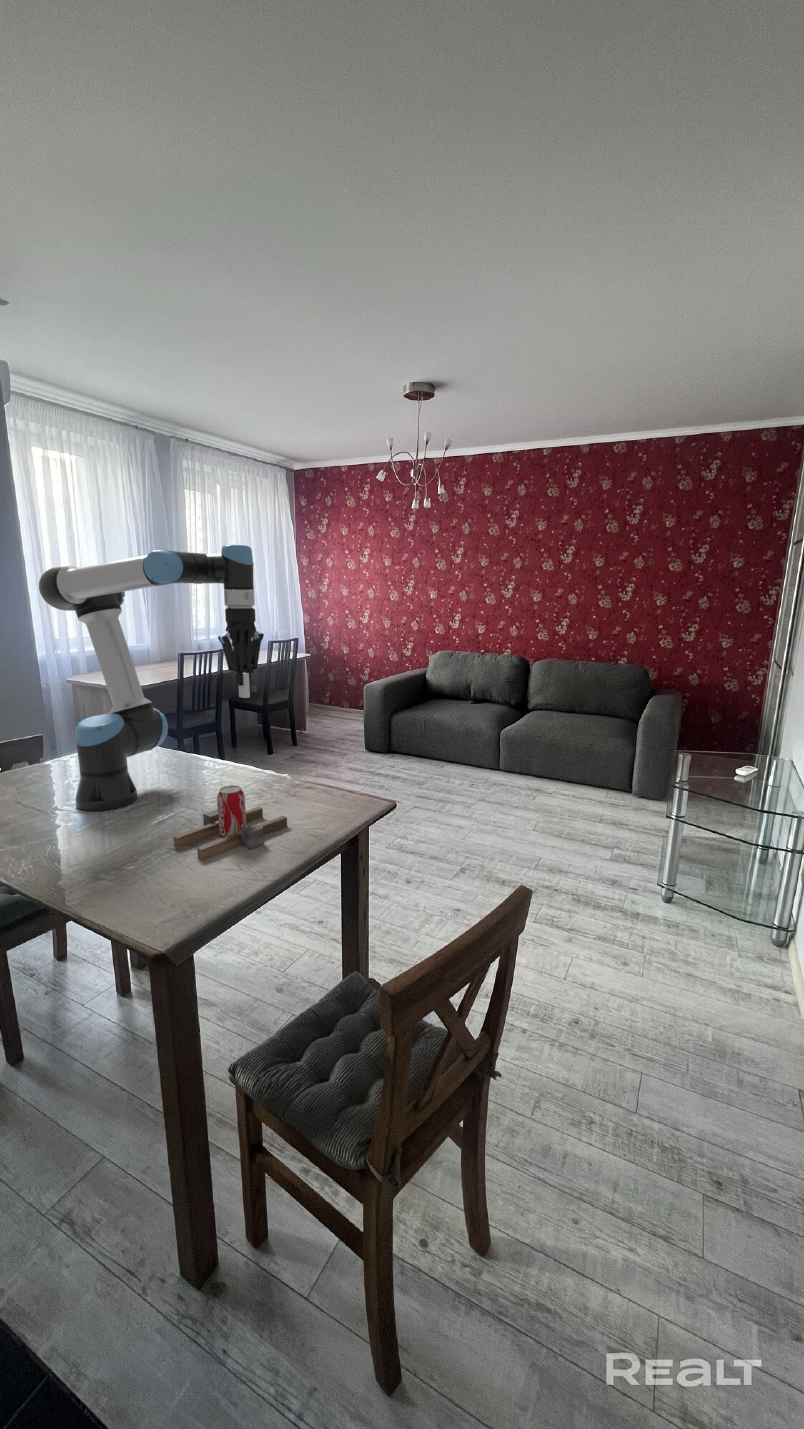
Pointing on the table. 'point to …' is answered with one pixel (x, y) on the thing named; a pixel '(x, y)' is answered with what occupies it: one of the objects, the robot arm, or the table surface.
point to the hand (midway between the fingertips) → (244, 697)
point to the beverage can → (231, 810)
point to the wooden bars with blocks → (244, 837)
